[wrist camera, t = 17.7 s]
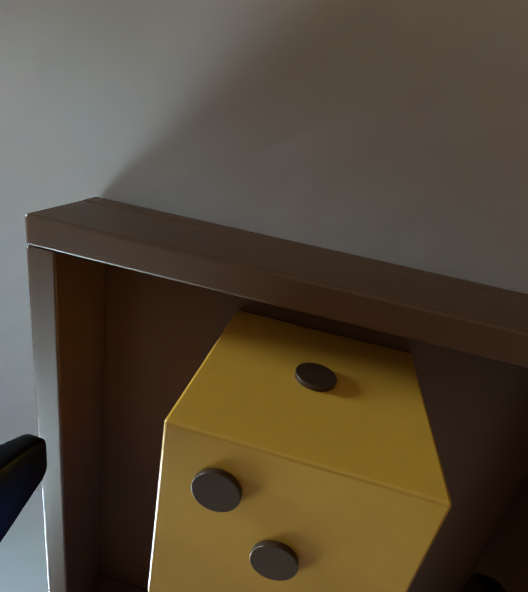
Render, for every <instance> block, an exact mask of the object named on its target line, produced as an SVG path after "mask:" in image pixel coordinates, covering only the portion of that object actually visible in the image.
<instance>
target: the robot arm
mask: <svg viewBox="0 0 528 592" xmlns="http://www.w3.org/2000/svg"><path fill="white" fill-rule="evenodd" d="M46 469H47V451H46V441H45V440H44V439H43V438H40V437H37V436H34V435H30V434H25V435H22V436H20V437H17V438H15V439H13V440H11V441H8V442H6V443H4V444H1V445H0V542H1V540H2V539H3V538H4V536H5V535H6V533H7V532H8V530H9V529H10V527H11V526H12V524H13V523H14V521H15V520H16V518H17V516H18V515H19V513H20V512H21V510H22V509H23V507H24V506H25V504H26V503H27V501H28V500H29V498H30V497H31V495H32V494H33V492H34V491H35V489H36V488H37V486H38V485H39V483H40V482H41V480H42V479H43V477H44V475H45V473H46ZM460 592H506V591H505V589H504V588H503V586H502V585H501V584H500V583H499V582H498V581H497V580H496V579H495V578H493V577H490V576H487V575H484V574H481V573H477V572H474V573H471V574H470V576H469V577H468V579H467V581H466V582H465V584H464V586H463V587H462V589H461V591H460Z"/></svg>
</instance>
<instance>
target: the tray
mask: <svg viewBox="0 0 528 592" xmlns="http://www.w3.org/2000/svg"><path fill="white" fill-rule="evenodd" d="M25 223H26V239H27V243H28V244H29V245H28V246H27V261H28V276H29V292H30V307H31V323H32V338H33V354H34V369H35V385H36V401H37V416H38V432H39V437H40V438H43V439H44V440H45V441H46V451H47V469H46V473H45V475H44V477H43V479H42V494H43V509H44V525H45V540H46V556H47V572H48V587H49V592H148V583H149V573H150V562H151V552H152V542H153V532H154V522H155V511H156V501H157V491H158V481H159V470H160V460H161V450H162V440H163V430H164V421H165V419H166V418H167V416H168V415H169V413H170V412H171V410H172V409H173V407H174V405H175V404H176V402H177V401H178V399H179V398H180V396H181V395H182V393H183V392H184V390H185V389H186V387H187V386H188V384H189V383H190V381H191V380H192V378H193V377H194V375H195V374H196V372H197V371H198V369H199V368H200V366H201V365H202V363H203V362H204V360H205V359H206V357H207V356H208V354H209V352H210V351H211V349H212V348H213V346H214V345H215V343H216V342H217V340H218V339H219V337H220V336H221V334H222V333H223V331H224V330H225V328H226V327H227V325H228V324H229V322H230V321H231V319H232V318H233V316H234V315H235V313H236V312H237V311H238V310H240V311H244V312H248V313H252V314H256V315H260V316H264V317H268V318H272V319H276V320H280V321H284V322H288V323H292V324H295V325H299V326H303V327H307V328H311V329H315V330H319V331H323V332H327V333H331V334H335V335H339V336H343V337H347V338H351V339H355V340H359V341H363V342H367V343H371V344H375V345H379V346H383V347H386V348H390V349H394V350H398V351H402V352H406V353H409V354H411V355H412V359H413V363H414V366H415V370H416V374H417V377H418V381H419V385H420V388H421V392H422V396H423V399H424V403H425V407H426V410H427V414H428V418H429V421H430V425H431V429H432V432H433V436H434V440H435V444H436V447H437V451H438V455H439V458H440V462H441V466H442V469H443V473H444V477H445V480H446V484H447V488H448V491H449V495H450V499H451V503H452V506H451V509H450V511H449V512H448V514H447V516H446V518H445V520H444V522H443V524H442V526H441V528H440V530H439V532H438V534H437V536H436V538H435V540H434V541H433V543H432V545H431V547H430V549H429V551H428V553H427V555H426V557H425V559H424V561H423V563H422V565H421V567H420V568H419V570H418V572H417V574H416V576H415V578H414V580H413V582H412V584H411V586H410V588H409V590H408V592H460V591H461V589H462V587H463V586H464V584H465V582H466V581H467V579H468V577H469V576H470V574H471V573H474V572H477V573H481V574H484V575H487V576H490V577H493V578H495V579H496V580H497V581H498V582H499V583H500V584H501V585H502V586H503V588H504V589H505V591H506V592H528V294H523V293H519V292H514V291H510V290H506V289H501V288H497V287H492V286H488V285H484V284H479V283H475V282H470V281H466V280H461V279H457V278H453V277H448V276H444V275H439V274H435V273H430V272H426V271H422V270H417V269H413V268H408V267H404V266H400V265H395V264H391V263H386V262H382V261H377V260H373V259H369V258H364V257H360V256H355V255H351V254H347V253H342V252H338V251H333V250H329V249H324V248H320V247H316V246H311V245H307V244H302V243H298V242H293V241H289V240H285V239H280V238H276V237H271V236H267V235H263V234H258V233H254V232H249V231H245V230H240V229H236V228H232V227H227V226H223V225H218V224H214V223H209V222H205V221H201V220H196V219H192V218H187V217H183V216H179V215H174V214H170V213H165V212H161V211H156V210H152V209H148V208H143V207H139V206H134V205H130V204H126V203H121V202H117V201H112V200H108V199H103V198H99V197H94V198H90V199H85V200H83V201H79V202H75V203H70V204H66V205H62V206H58V207H54V208H49V209H45V210H41V211H37V212H32V213H28V214H26V216H25Z"/></svg>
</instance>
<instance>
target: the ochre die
mask: <svg viewBox="0 0 528 592" xmlns="http://www.w3.org/2000/svg"><path fill="white" fill-rule="evenodd" d="M451 506H452V503H451V499H450V495H449V491H448V488H447V484H446V480H445V477H444V473H443V469H442V466H441V462H440V458H439V455H438V451H437V447H436V444H435V440H434V436H433V432H432V429H431V425H430V421H429V418H428V414H427V410H426V407H425V403H424V399H423V396H422V392H421V388H420V385H419V381H418V377H417V374H416V370H415V366H414V363H413V359H412V355H411V354H409V353H406V352H402V351H398V350H394V349H390V348H386V347H383V346H379V345H375V344H371V343H367V342H363V341H359V340H355V339H351V338H347V337H343V336H339V335H335V334H331V333H327V332H323V331H319V330H315V329H311V328H307V327H303V326H299V325H295V324H292V323H288V322H284V321H280V320H276V319H272V318H268V317H264V316H260V315H256V314H252V313H248V312H244V311H240V310H238V311H237V312H236V313H235V315H234V316H233V318H232V319H231V321H230V322H229V324H228V325H227V327H226V328H225V330H224V331H223V333H222V334H221V336H220V337H219V339H218V340H217V342H216V343H215V345H214V346H213V348H212V349H211V351H210V352H209V354H208V356H207V357H206V359H205V360H204V362H203V363H202V365H201V366H200V368H199V369H198V371H197V372H196V374H195V375H194V377H193V378H192V380H191V381H190V383H189V384H188V386H187V387H186V389H185V390H184V392H183V393H182V395H181V396H180V398H179V399H178V401H177V402H176V404H175V405H174V407H173V409H172V410H171V412H170V413H169V415H168V416H167V418H166V419H165V421H164V430H163V440H162V450H161V460H160V470H159V481H158V491H157V501H156V511H155V522H154V532H153V542H152V552H151V562H150V573H149V583H148V592H408V590H409V588H410V586H411V584H412V582H413V580H414V578H415V576H416V574H417V572H418V570H419V568H420V567H421V565H422V563H423V561H424V559H425V557H426V555H427V553H428V551H429V549H430V547H431V545H432V543H433V541H434V540H435V538H436V536H437V534H438V532H439V530H440V528H441V526H442V524H443V522H444V520H445V518H446V516H447V514H448V512H449V511H450V509H451Z"/></svg>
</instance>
